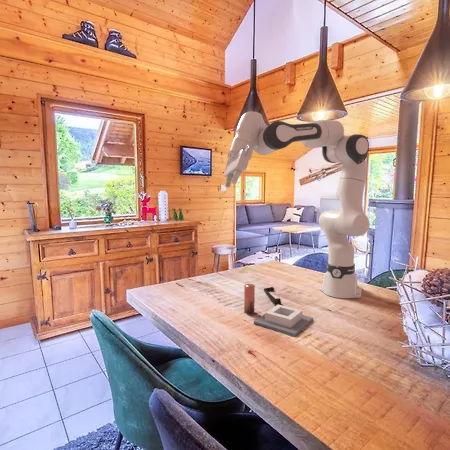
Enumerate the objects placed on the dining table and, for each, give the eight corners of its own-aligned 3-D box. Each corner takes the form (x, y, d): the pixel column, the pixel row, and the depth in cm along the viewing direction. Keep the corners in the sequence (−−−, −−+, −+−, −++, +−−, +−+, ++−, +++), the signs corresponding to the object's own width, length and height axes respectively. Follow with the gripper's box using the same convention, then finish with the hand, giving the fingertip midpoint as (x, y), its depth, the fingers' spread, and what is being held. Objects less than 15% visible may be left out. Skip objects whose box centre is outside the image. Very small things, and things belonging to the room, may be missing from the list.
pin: (247, 309, 123) (248, 283, 122) (256, 311, 120) (256, 285, 119) (242, 312, 120) (242, 285, 118) (250, 315, 117) (251, 287, 116)
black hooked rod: (274, 294, 147) (290, 313, 117) (263, 295, 147) (277, 314, 117) (273, 283, 147) (290, 300, 117) (263, 284, 147) (277, 301, 117)
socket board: (274, 310, 122) (274, 300, 122) (313, 320, 113) (313, 309, 112) (253, 323, 110) (253, 313, 109) (295, 336, 100) (295, 325, 100)
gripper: (257, 147, 107) (246, 183, 106) (240, 160, 127) (230, 191, 125) (241, 140, 106) (229, 177, 104) (227, 155, 125) (216, 186, 124)
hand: (230, 185), depth 115 cm, fingers open, 8 cm apart
